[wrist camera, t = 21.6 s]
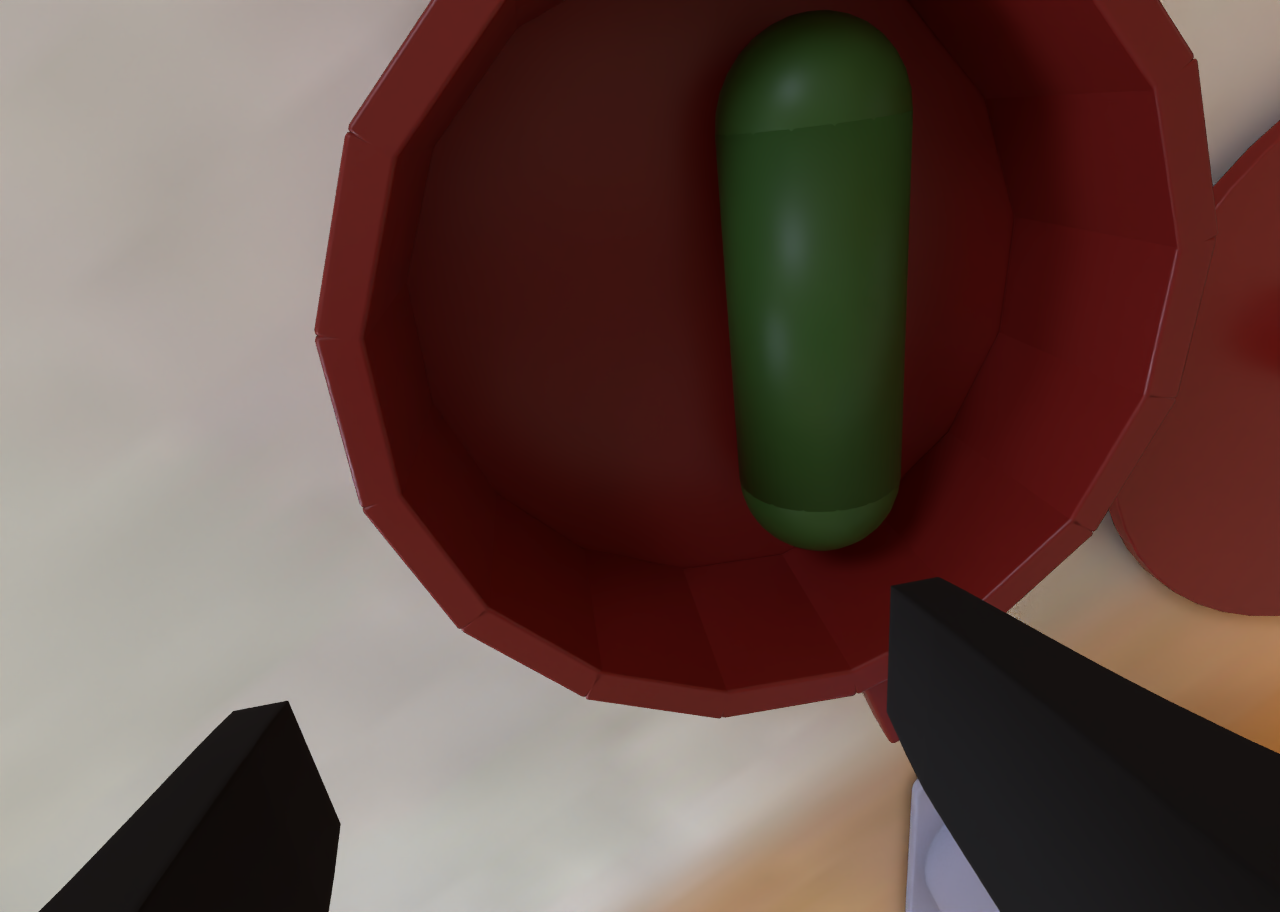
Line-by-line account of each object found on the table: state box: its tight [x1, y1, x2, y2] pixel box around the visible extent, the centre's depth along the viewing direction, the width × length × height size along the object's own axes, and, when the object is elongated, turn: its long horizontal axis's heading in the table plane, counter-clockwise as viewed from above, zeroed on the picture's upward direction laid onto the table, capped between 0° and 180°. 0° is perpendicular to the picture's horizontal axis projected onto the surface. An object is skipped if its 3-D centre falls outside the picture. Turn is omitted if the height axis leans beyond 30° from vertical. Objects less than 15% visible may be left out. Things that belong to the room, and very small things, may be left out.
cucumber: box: [715, 10, 913, 551], centre depth 14 cm, size 10×3×3 cm
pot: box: [314, 0, 1218, 743], centre depth 14 cm, size 14×20×5 cm
